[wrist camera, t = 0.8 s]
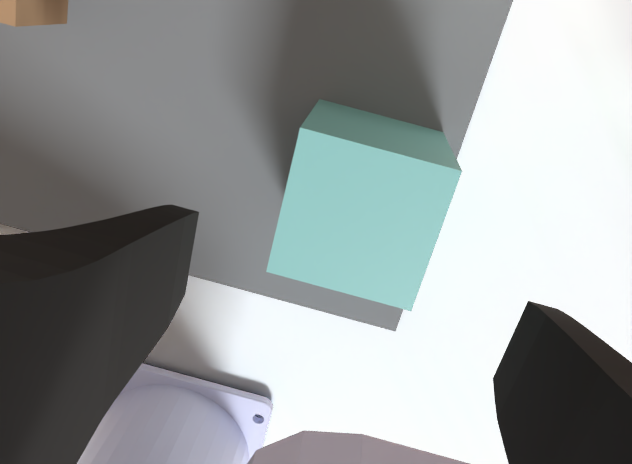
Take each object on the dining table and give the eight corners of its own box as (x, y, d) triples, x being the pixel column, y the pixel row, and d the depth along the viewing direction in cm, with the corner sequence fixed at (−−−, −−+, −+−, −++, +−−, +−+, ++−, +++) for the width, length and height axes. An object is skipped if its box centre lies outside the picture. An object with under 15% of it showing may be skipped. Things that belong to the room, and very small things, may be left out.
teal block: (404, 245, 21) (411, 311, 17) (291, 214, 21) (266, 271, 17) (443, 132, 20) (461, 170, 15) (319, 98, 20) (300, 127, 15)
